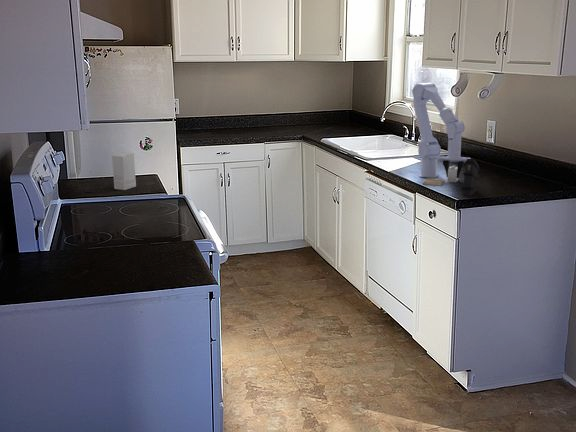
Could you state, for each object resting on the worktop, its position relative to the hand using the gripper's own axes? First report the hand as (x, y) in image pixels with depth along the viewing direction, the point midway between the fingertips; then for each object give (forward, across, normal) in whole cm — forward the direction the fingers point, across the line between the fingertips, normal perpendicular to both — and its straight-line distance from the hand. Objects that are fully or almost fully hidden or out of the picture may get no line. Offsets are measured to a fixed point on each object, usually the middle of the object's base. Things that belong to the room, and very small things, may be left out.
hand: (452, 177), depth 304 cm
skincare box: (+2, -138, -60) cm, 150 cm away
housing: (+2, 0, 0) cm, 2 cm away
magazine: (+2, +10, -23) cm, 25 cm away
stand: (+2, -8, -8) cm, 11 cm away
